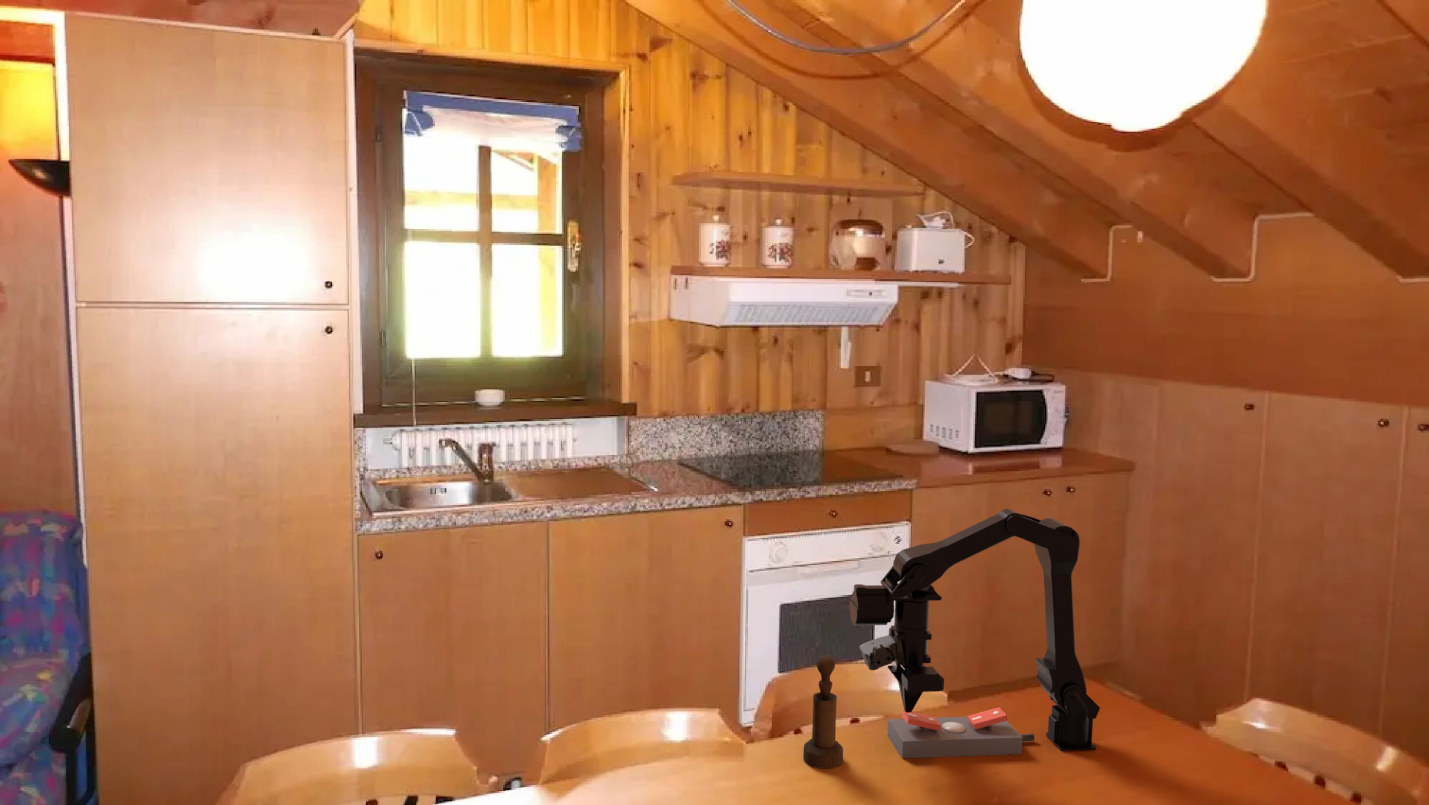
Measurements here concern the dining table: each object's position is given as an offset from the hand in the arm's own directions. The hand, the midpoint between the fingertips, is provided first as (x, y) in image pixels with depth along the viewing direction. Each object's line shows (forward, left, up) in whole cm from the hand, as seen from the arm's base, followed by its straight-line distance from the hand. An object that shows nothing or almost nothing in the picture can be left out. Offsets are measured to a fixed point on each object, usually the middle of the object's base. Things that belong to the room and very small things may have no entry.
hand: (907, 711), depth 176 cm
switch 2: (-14, 0, -2) cm, 15 cm away
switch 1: (-2, 0, -2) cm, 3 cm away
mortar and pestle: (+16, +4, -6) cm, 17 cm away
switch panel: (-10, 0, -6) cm, 12 cm away
